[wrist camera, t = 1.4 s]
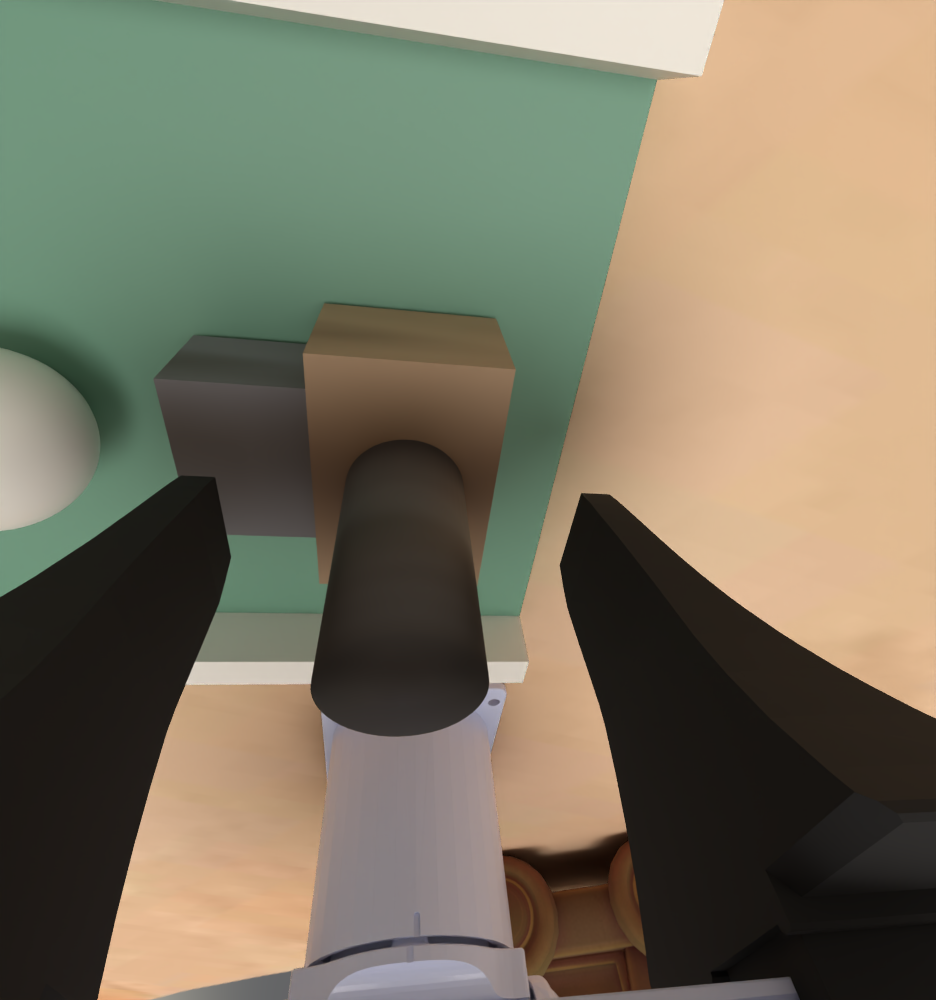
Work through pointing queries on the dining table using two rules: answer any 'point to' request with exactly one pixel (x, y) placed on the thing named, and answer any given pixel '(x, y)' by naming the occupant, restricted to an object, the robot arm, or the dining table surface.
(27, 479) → the ball
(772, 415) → the dining table surface
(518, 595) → the pitch
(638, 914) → the wooden toy train
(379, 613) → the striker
